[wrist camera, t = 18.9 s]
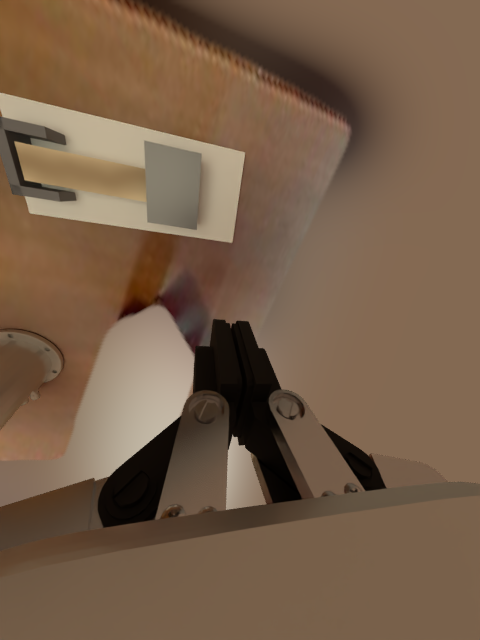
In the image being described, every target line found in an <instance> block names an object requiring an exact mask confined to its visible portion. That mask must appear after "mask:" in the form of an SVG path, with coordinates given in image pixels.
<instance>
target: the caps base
mask: <svg viewBox="0 0 480 640" xmlns="http://www.w3.org/2000/svg"><path fill="white" fill-rule="evenodd" d="M0 109H1V113H2V116H3V117H0V154H1V158H2V161H3V164H4V168H5V171H6V174H7V177H8V181H9V184H10V187H11V191H12V194H15V195H21V196H25V198H26V202H27V205H28V209H29V212H30V213H31V214H38V215H45V216H52V217H59V218H66V219H72V220H79V221H86V222H93V223H100V224H107V225H113V226H120V227H127V228H134V229H141V230H148V231H155V232H161V233H168V234H175V235H182V236H189V237H196V238H203V239H209V240H216V241H223V242H230V243H232V242H233V235H234V228H235V221H236V214H237V207H238V200H239V193H240V186H241V179H242V172H243V165H244V158H245V152H241V151H237V150H233V149H229V148H225V147H221V146H216V145H212V144H208V143H204V142H200V141H196V140H192V139H188V138H184V137H180V136H176V135H171V134H167V133H163V132H159V131H155V130H151V129H147V128H143V127H139V126H135V125H130V124H126V123H122V122H118V121H114V120H110V119H106V118H102V117H98V116H94V115H90V114H85V113H81V112H77V111H73V110H69V109H65V108H61V107H57V106H53V105H49V104H45V103H40V102H36V101H32V100H28V99H24V98H20V97H16V96H12V95H8V94H4V93H0ZM14 141H15V142H20V143H25V144H29V145H34V146H39V147H44V148H48V149H53V150H58V151H63V152H67V153H72V154H77V155H82V156H86V157H91V158H96V159H100V160H105V161H110V162H115V163H119V164H124V165H129V166H134V167H138V168H143V169H145V150H144V141H149V142H153V143H157V144H162V145H166V146H170V147H175V148H179V149H183V150H188V151H193V152H197V153H202V158H201V174H200V190H199V205H198V221H197V230H193V229H188V228H181V227H175V226H168V225H162V224H155V223H149V222H147V202H143V201H138V200H132V199H127V198H121V197H115V196H110V195H104V194H99V193H93V192H87V191H82V190H76V189H71V188H65V187H59V186H54V185H48V184H43V183H37V182H32V181H26V180H25V179H24V176H23V172H22V168H21V165H20V161H19V157H18V153H17V150H16V146H15V142H14Z"/></svg>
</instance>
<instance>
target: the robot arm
mask: <svg viewBox="0 0 480 640" xmlns="http://www.w3.org/2000/svg"><path fill="white" fill-rule="evenodd" d="M63 365H64V360H63V357H62V355H61V353H60V351H59V350H58V349H57V348H56V347H55V346H54V345H53V344H52V343H51V342H50V341H48V340H46V339H45V338H43V337H41V336H39V335H37V334H34V333H31V332H28V331H23V330H15V329H5V330H0V430H1V429H2V428H3V426H4V425H5V424H6V423H7V422H8V420H9V419H10V418H11V417H12V416H13V414H14V413H15V412H16V411H17V410H18V409H19V407H20V406H22V405H24V404H26V403H28V402H29V398H28V397H29V395H30V397H31V399H32V400H37V399H39V398H40V394H39V391H38V389H39V387H40V386H41V385H42V384H43V383H45V382H48V381H51V380H52V379H54V378H55V377H57V375H58V374H59V373H60V372H61V370H62V368H63ZM232 434H233V436H234V437H238V442H239V445H245V448H246V449H247V450H248V451H250V452H251V458H252V462H253V465H254V468H255V471H256V474H257V477H258V480H259V483H260V486H261V489H262V492H263V495H264V498H265V501H266V505H259V506H252V507H244V508H237V509H230V510H226V487H227V459H228V458H227V457H228V449H229V446H230V442H231V438H232ZM0 640H480V484H478V483H469V482H447V481H446V479H445V478H444V477H443V476H442V475H441V474H440V473H438V472H437V471H436V470H435V469H433V468H432V467H430V466H429V465H427V464H424V463H421V462H417V461H410V460H406V459H400V458H394V457H389V456H383V455H378V454H372V453H371V454H370V455H369V456H368V455H367V454H366V453H364V452H363V451H362V450H360V449H359V448H357V447H356V446H354V445H353V444H351V443H350V442H348V441H346V440H345V439H343V438H342V437H340V436H338V435H337V434H336V433H334V432H332V431H331V430H329V429H328V428H326V427H324V426H323V425H321V424H320V423H319V421H318V420H317V418H316V417H315V415H314V414H313V412H312V411H311V409H310V408H309V406H308V405H307V403H306V402H305V401H304V400H303V398H302V397H300V396H299V395H298V394H296V393H294V392H292V391H289V390H281V387H280V385H279V382H278V380H277V378H276V375H275V373H274V370H273V368H272V366H271V363H270V361H269V358H268V356H267V353H266V351H265V349H263V348H258V345H257V342H256V340H255V337H254V335H253V332H252V329H251V327H250V324H249V322H248V321H236V324H232V327H231V328H230V324H229V323H226V321H225V320H217V319H213V325H212V333H211V341H210V347H209V346H196V349H195V361H194V380H193V394H192V395H191V396H190V397H189V398H188V399H187V400H186V403H185V405H184V408H183V412H182V415H181V416H180V417H179V418H178V419H177V420H175V421H174V422H173V423H172V424H171V425H169V426H168V427H167V428H166V429H165V430H163V431H162V432H161V433H160V434H159V435H157V436H156V437H155V438H154V439H153V440H151V441H150V442H149V443H148V444H147V445H145V446H144V447H143V448H142V449H140V450H139V451H138V452H137V453H136V454H134V455H133V456H132V457H131V458H130V459H128V460H127V461H126V462H125V463H124V464H122V465H121V466H120V467H119V468H118V469H116V471H115V472H114V473H113V474H112V475H111V476H110V477H107V478H103V479H100V480H97V481H95V479H94V478H92V479H89V480H85V481H82V482H79V483H76V484H73V485H69V486H66V487H63V488H60V489H56V490H53V491H50V492H47V493H44V494H40V495H37V496H34V497H30V498H27V499H24V500H21V501H18V502H14V503H11V504H8V505H5V506H2V507H0Z"/></svg>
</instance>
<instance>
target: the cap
mask: <svg viewBox="0 0 480 640" xmlns="http://www.w3.org/2000/svg"><path fill="white" fill-rule="evenodd" d="M144 150H145V174H146V199H147V222H149V223H155V224H162V225H168V226H175V227H181V228H188V229H193V230H197V221H198V205H199V190H200V174H201V158H202V153H197V152H193V151H188V150H183V149H179V148H175V147H170V146H166V145H162V144H157V143H153V142H149V141H144Z"/></svg>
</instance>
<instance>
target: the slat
mask: <svg viewBox="0 0 480 640" xmlns="http://www.w3.org/2000/svg"><path fill="white" fill-rule="evenodd" d="M14 142H15V141H14ZM15 146H16V150H17V153H18V157H19V161H20V165H21V168H22V172H23V176H24V179H25V180H26V181H32V182H37V183H43V184H48V185H54V186H59V187H65V188H71V189H76V190H82V191H87V192H93V193H99V194H104V195H110V196H115V197H121V198H127V199H132V200H138V201H143V202H147V199H146V174H145V169H143V168H138V167H134V166H129V165H124V164H119V163H115V162H110V161H105V160H100V159H96V158H91V157H86V156H82V155H77V154H72V153H67V152H63V151H58V150H53V149H48V148H44V147H39V146H34V145H29V144H25V143H20V142H15Z"/></svg>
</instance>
